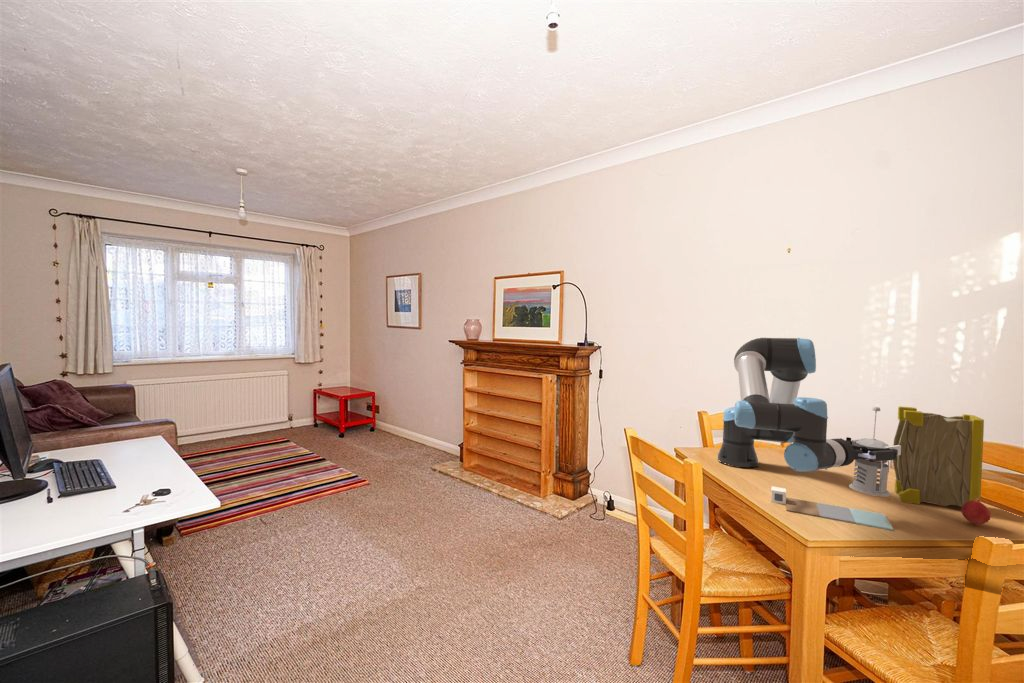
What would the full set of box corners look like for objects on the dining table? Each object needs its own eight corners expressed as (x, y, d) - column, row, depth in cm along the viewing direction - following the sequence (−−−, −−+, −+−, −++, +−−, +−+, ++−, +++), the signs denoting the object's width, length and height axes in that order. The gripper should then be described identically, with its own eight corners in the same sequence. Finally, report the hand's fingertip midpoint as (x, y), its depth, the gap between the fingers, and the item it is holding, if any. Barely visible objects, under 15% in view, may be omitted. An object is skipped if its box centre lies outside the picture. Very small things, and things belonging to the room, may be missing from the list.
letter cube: (771, 502, 145) (771, 490, 144) (771, 498, 148) (771, 486, 148) (785, 504, 143) (786, 492, 142) (785, 500, 146) (785, 488, 146)
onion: (956, 523, 130) (958, 495, 130) (967, 519, 133) (968, 493, 132) (984, 531, 125) (985, 503, 125) (994, 528, 127) (995, 500, 127)
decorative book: (970, 503, 145) (974, 411, 144) (982, 515, 136) (986, 417, 135) (890, 491, 156) (893, 405, 155) (896, 501, 147) (900, 410, 146)
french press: (878, 485, 137) (885, 405, 135) (903, 500, 125) (911, 412, 124) (842, 482, 139) (848, 402, 137) (863, 496, 127) (870, 409, 126)
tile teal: (855, 523, 129) (855, 522, 129) (848, 509, 139) (848, 508, 139) (893, 530, 125) (893, 529, 125) (883, 515, 135) (883, 513, 135)
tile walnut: (786, 510, 137) (786, 509, 137) (785, 498, 148) (785, 497, 148) (819, 517, 133) (819, 515, 133) (816, 503, 144) (816, 502, 144)
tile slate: (819, 517, 133) (819, 515, 133) (816, 503, 144) (816, 502, 144) (855, 523, 129) (855, 522, 129) (848, 509, 139) (848, 508, 139)
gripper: (796, 456, 134) (845, 450, 143) (873, 477, 115) (924, 468, 124) (797, 431, 134) (846, 426, 143) (874, 449, 115) (925, 442, 124)
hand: (882, 446), depth 133 cm, fingers closed on french press, 8 cm apart
